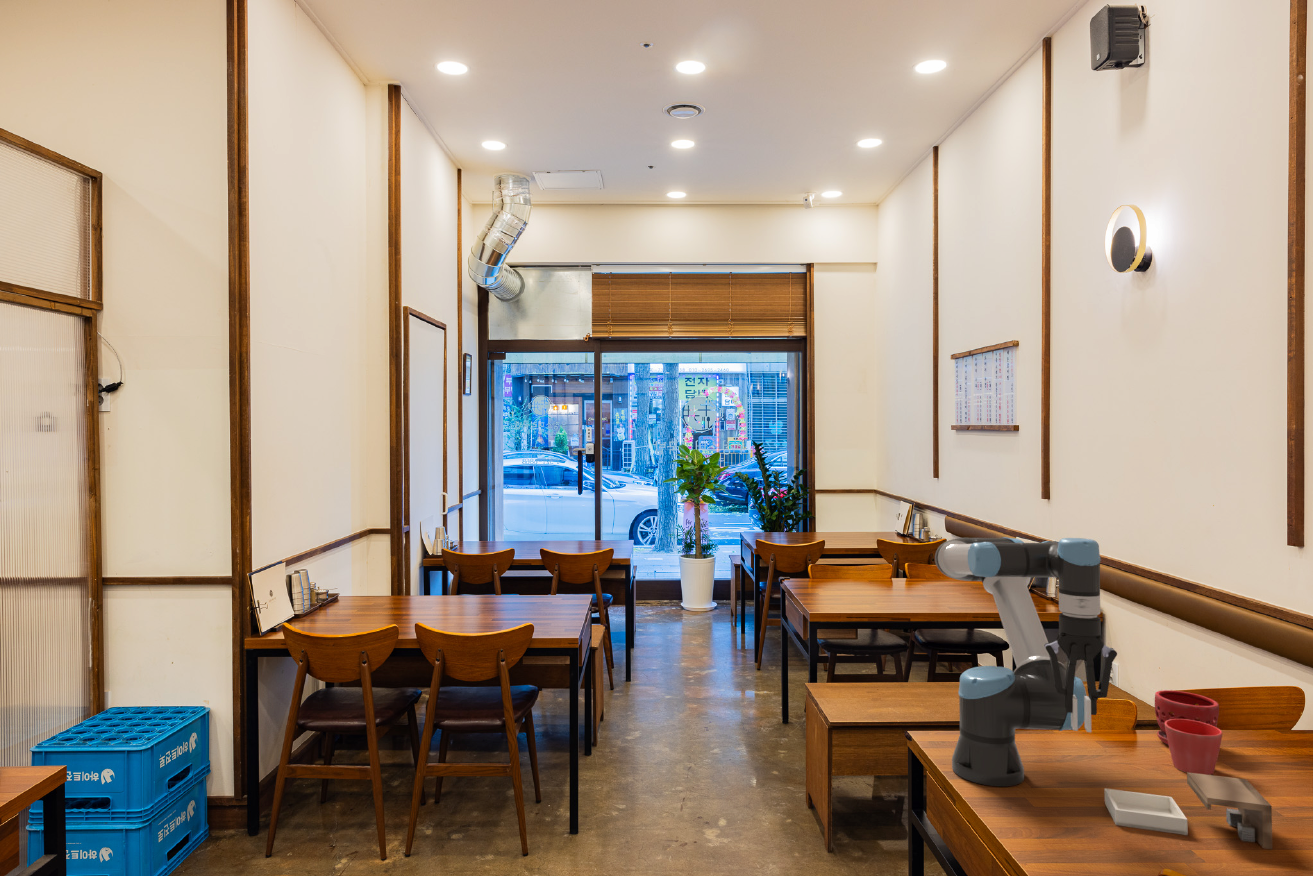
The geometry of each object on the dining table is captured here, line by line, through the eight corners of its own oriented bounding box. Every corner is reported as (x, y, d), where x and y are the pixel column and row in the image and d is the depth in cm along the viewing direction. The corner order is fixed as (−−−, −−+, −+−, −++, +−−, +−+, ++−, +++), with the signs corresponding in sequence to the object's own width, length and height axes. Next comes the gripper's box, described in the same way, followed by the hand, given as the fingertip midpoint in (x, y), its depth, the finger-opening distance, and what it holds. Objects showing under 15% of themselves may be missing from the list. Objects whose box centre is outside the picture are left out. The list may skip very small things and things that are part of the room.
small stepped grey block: (1242, 840, 143) (1241, 827, 143) (1226, 821, 151) (1226, 808, 151) (1254, 842, 142) (1254, 829, 142) (1238, 822, 150) (1238, 810, 150)
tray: (1115, 825, 149) (1115, 809, 149) (1104, 802, 159) (1104, 788, 159) (1187, 835, 145) (1187, 819, 145) (1171, 811, 155) (1171, 797, 155)
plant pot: (1203, 760, 180) (1202, 709, 181) (1144, 741, 192) (1143, 694, 192) (1229, 749, 187) (1229, 700, 187) (1171, 732, 198) (1171, 685, 199)
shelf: (1208, 840, 143) (1207, 797, 143) (1187, 811, 154) (1186, 772, 155) (1272, 849, 140) (1271, 805, 140) (1246, 819, 151) (1245, 779, 151)
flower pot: (1225, 782, 168) (1224, 738, 168) (1166, 772, 174) (1165, 729, 174) (1220, 765, 177) (1220, 724, 177) (1164, 756, 183) (1163, 715, 183)
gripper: (1042, 615, 155) (1043, 731, 155) (1125, 620, 150) (1127, 740, 150) (1037, 608, 162) (1038, 718, 162) (1116, 613, 157) (1118, 727, 157)
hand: (1081, 729), depth 156 cm, fingers open, 2 cm apart
